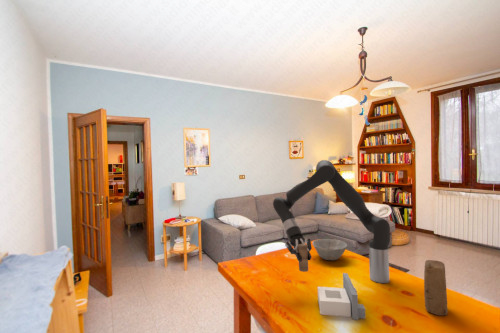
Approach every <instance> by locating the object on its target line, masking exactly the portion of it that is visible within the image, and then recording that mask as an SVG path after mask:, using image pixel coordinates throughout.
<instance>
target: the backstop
mask: <svg viewBox="0 0 500 333" xmlns="http://www.w3.org/2000/svg"><path fill="white" fill-rule="evenodd" d="M342 280H343V284H342V285H343V286H342V288H345V290H346V293H347V295H348V298H349V300H350V303H351V319H352V320H353V321H359V319H366V307H365V306H364V304H362V303H361V304H360V303H358V302H359V300H358V299H359V298H358V292H357V289H356V287H355V286H354V284H353V283H352V280H351V278H350V277H349V274H348V272H347V273H346V272H342Z"/></svg>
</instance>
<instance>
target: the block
mask: <svg viewBox="0 0 500 333" xmlns="http://www.w3.org/2000/svg"><path fill="white" fill-rule="evenodd" d="M445 266H446V265H445V263H444V262H442V261H438V260H434V259H433V260H432V259H428V260H425V262H424V271H423V272H424V274H423V277H424V278H423V280H424V281H423V284H424V286H423V289H424V290H423V291H424V292H423V293H424V306H425V310H426V311H427V312H428V313H431V314H432V315H433V314H434V315H436V316H440V317H441V316H447V315H448V297H447V296H448V295H447V280H446V279H447V278H446V267H445Z"/></svg>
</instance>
